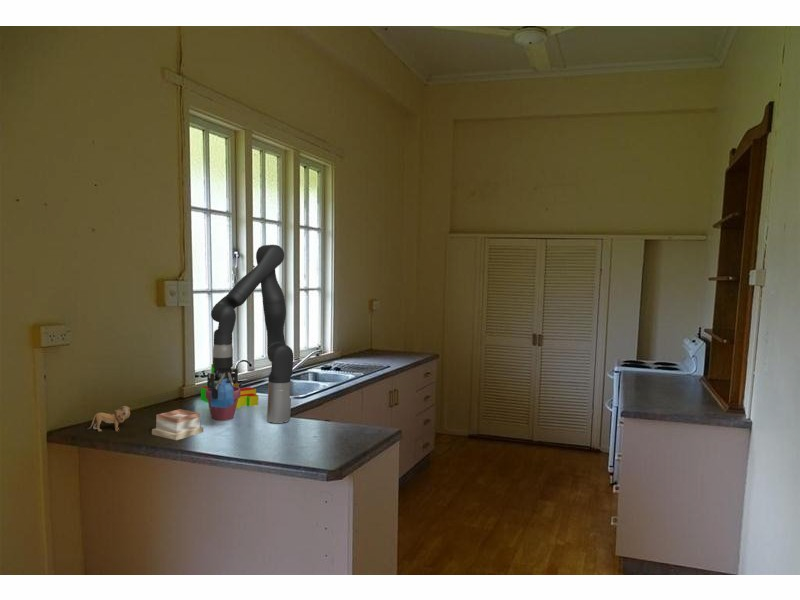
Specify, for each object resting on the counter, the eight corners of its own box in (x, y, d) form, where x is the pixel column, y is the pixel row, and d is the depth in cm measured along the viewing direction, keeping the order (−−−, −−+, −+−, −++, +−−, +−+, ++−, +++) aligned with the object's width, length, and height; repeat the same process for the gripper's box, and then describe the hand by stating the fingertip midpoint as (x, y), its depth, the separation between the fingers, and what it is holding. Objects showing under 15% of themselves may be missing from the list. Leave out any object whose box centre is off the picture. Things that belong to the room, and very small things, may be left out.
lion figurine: (130, 427, 215) (131, 404, 214) (128, 430, 210) (129, 407, 209) (88, 429, 210) (88, 405, 209) (85, 432, 205) (85, 409, 204)
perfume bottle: (225, 407, 212) (225, 377, 211) (210, 406, 213) (211, 376, 212) (233, 404, 218) (233, 374, 217) (219, 403, 219) (219, 373, 218)
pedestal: (179, 426, 218) (180, 408, 218) (203, 432, 212) (203, 413, 212) (151, 434, 207) (152, 414, 206) (176, 440, 201) (176, 420, 200)
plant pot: (197, 419, 230) (198, 389, 230) (220, 412, 243) (221, 383, 243) (224, 424, 225) (225, 393, 224) (246, 416, 238) (247, 387, 237)
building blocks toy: (226, 410, 248) (227, 370, 247) (200, 400, 265) (201, 363, 264) (262, 405, 261) (263, 367, 261) (235, 395, 279) (237, 360, 278)
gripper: (216, 358, 206) (215, 401, 207) (243, 354, 219) (242, 394, 220) (201, 356, 209) (201, 399, 210) (229, 352, 222) (228, 392, 223)
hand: (222, 396), depth 215 cm, fingers closed on perfume bottle, 7 cm apart
